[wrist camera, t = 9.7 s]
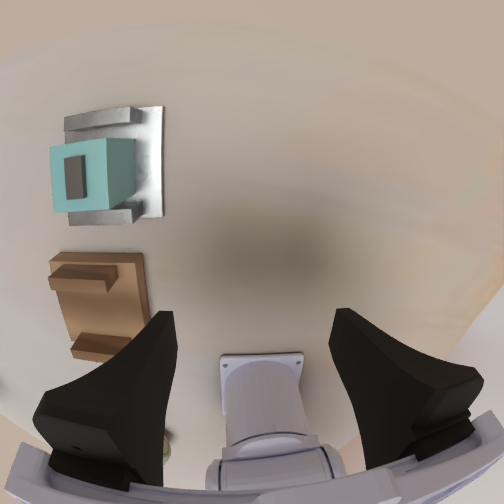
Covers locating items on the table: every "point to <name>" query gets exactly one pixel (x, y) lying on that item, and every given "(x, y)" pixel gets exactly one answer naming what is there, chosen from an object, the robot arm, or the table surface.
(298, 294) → the table surface
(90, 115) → the lower dock
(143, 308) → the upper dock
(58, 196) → the plug
